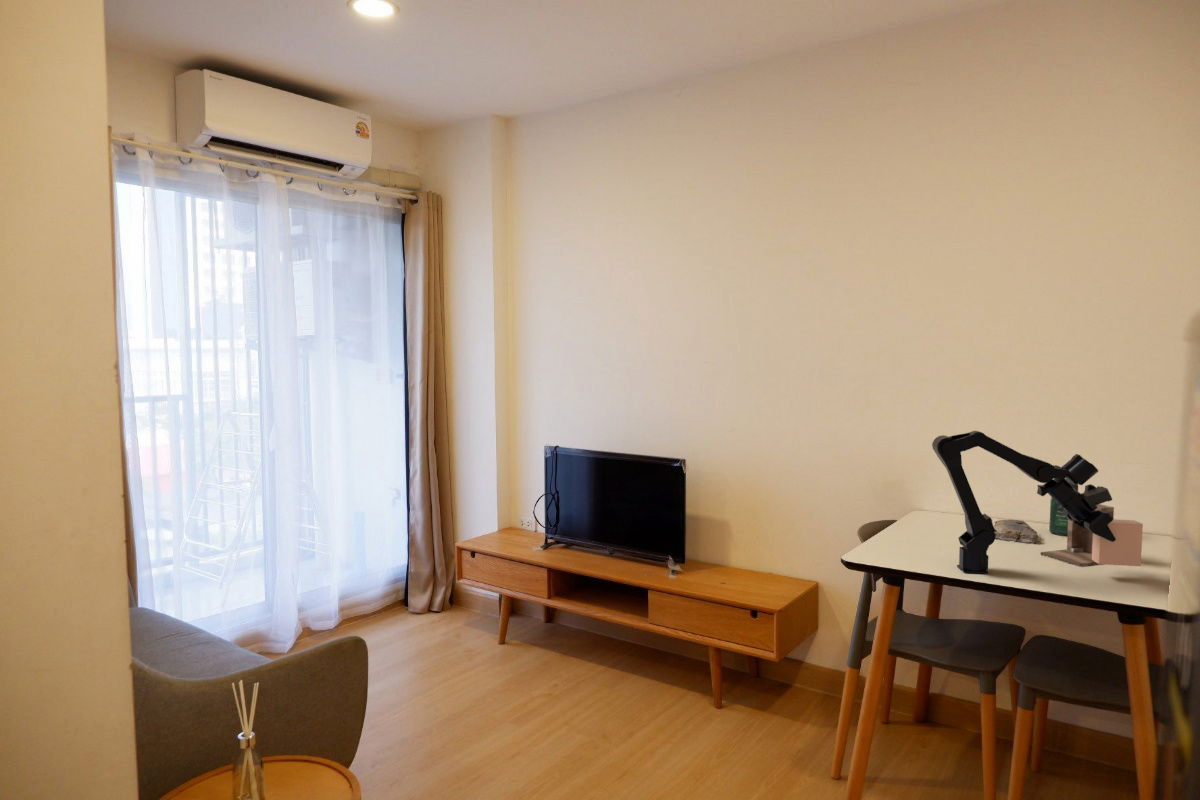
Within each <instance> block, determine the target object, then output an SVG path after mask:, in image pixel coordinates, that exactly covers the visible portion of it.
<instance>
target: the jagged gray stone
mask: <svg viewBox="0 0 1200 800" xmlns="http://www.w3.org/2000/svg"><path fill="white" fill-rule="evenodd" d="M993 527H994V528H995V530H996V531H997V532H995V536H996V539H998V540H1001V541H1003V540H1004V541H1003V542H1010V541H1014V542H1013V543H1017V541H1018V543H1023V542H1024V543H1025V544H1030V543H1034V544H1035V543H1037V542H1038V541H1039V535H1038V532H1037V531H1036V530H1035V529H1034V528H1032V527H1031V526H1030V525H1029V524H1028V523H1027V522H1025V521H1024V520H1020V519H1019V520H1018V519H1001V520H1000V519H999V520H996V521H994V524H993Z"/></svg>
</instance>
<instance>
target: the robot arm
mask: <svg viewBox="0 0 1200 800" xmlns="http://www.w3.org/2000/svg"><path fill="white" fill-rule="evenodd" d="M931 446H932V449H933V451H934V453H935V454H936V456H937V458H938V459H939V461H940V462H941V463H942V465H943V466H944V468H945V469H946V471H947V473H948V477H949V479H950V481H951V483H952V484H951V485H952V486H953V488H954V491H955V493H956V496H957V497H958V498H957V499H958V502H959V503H960V506H961V508H962V511H963V513H964V524H965V529H966V531H964V532H963V533H962V534H961V535H960V536H958V537H957V538H958V541H959V544H960V545H961V546H959V551H958V552H959V555H958V556H959V559H958V564H957V565H956V567H957V569H959V570H961V571H962V572H963V573H965V574H989V572H990V571H988V570H989V555H988V553H987V551H988V550H989V547H990V546H991V545H992V544H993V543H994V542H995V541H996V539H997V538H996V536H995V532H997V531H996V530H995V528H994V527H993V525H994V523H993V519H992V518H991V517H990V516H989V515H987V514H986V513H982V512H981V510H980V508H979V504H978V502H977V500H976V497H975V495H974V492H973V490H972V487H971V484H970V482H969V481H968V478H967V475H966V473H965V470H964V468H963V464H962V452H966V451H969V450H971V449H974V448H978V447H979V448H981V449H983V450H985V451H986V452H988V453H991V454H992V455H993V456H997V457H998V458H1000V459H1002V460H1003V461H1006V462H1008V463H1009V464H1012V465H1014V467H1016V468H1017V469H1018V470H1019V471H1021V472H1022V473H1023V474H1025V475H1026V476H1027V477H1029V478H1030V479H1033V481H1037V482H1038V483H1041V484H1037V490H1036V494H1037V495H1039V496H1041V497H1045V496H1046V495H1047V494H1048V495H1049V496H1050V498H1051V497H1052V498H1053V499H1054V500H1055V501H1056V502H1057V503H1058V505H1059V506H1060V507H1061V508H1063V509H1064V510H1063V515H1064V516H1065V517H1066V518H1067V519H1068V520H1070V521H1072V520H1073V519H1075V521H1074V523H1075V524H1077V525H1079V526H1081V527H1083V528H1085V529H1087V530H1088V531H1090V532H1092V533H1094V534H1096V535H1098V536H1100V537H1103V538H1105V539H1107V540H1109V541H1111V542H1114V541H1115V540H1116V538H1115V537H1114V535H1113V533H1112V532H1111V530H1110V528H1109V527H1108V524H1109V523H1110V522H1111V521H1113V519H1114V518H1115V517H1114V518H1113V517H1112V516H1111V515H1110V514H1109V513H1107V512H1105V511H1103V510H1097V511H1095V509H1097V508H1098V507H1097V506H1096V505H1098V504H1101V505H1102V504H1104V503H1106V502H1111V501H1113V498H1112V497H1113V496H1112V495H1111V493H1110V491H1109V489H1108V488H1106V487H1104V486H1099V485H1098V486H1095V485H1094V484H1092V483H1091V484H1087V485H1084V484H1085V483H1087V481H1089V480H1090V479H1091V478H1093V477H1094V476H1095V475H1096V474H1097V473H1099V469H1098V468H1097V467H1096V466H1095V465H1094V464H1093V463H1091V462H1090V461H1088V460H1087V459H1085V458H1084V457H1083V456H1082V455H1080V454H1078V453H1075V454H1074V455H1073V456H1072V457H1071V459H1069V460H1068V461H1067V462H1066V463H1065V464H1063V465H1062V466H1059V465H1056V464H1055V465H1054V464H1052V463H1050V462H1047V461H1044V460H1042V459H1038V458H1035V457H1033V456H1029V455H1026V454H1023V453H1020V452H1019V451H1017V450H1015V449H1013V448H1011V447H1009V446H1008V445H1005V444H1003V443H1001V442H999V441H998V440H995V439H993V438H992V437H990V436H988V435H986V434H985V433H984V432H981V431H979V430H972V431H970V432H965V433H959V434H953V435H950V436H948V435H938V436H936V437H935V439H934V440H933V441H932V443H931ZM1065 479H1067V480H1068V481H1069V482H1071V483H1072V484H1073V485H1076V484H1078V486H1083V485H1084V491H1083V492H1082V493H1080V492H1079V490H1078V491H1076V490H1075V489H1074V488H1073V487H1072V486H1071V485H1070V484H1069V483H1068V482H1067V481H1066V480H1065ZM1072 518H1073V519H1072Z"/></svg>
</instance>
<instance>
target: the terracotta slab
mask: <svg viewBox="0 0 1200 800" xmlns="http://www.w3.org/2000/svg"><path fill="white" fill-rule="evenodd" d="M1108 527H1109V528H1110V530H1111V532H1112V533H1113V535H1114V537H1115V538H1116V540H1115V541H1114V542H1111V541H1109V540H1107V539H1105V538H1103V537H1100V536H1098V535H1096V534H1094V533H1093V543H1092V560H1093V561H1095V562H1096V563H1098V564H1097V565H1109V566H1127V567H1142V546H1143V530H1144V529H1143V527H1144V525H1143V523H1142V522H1140V521H1137V520H1135V519H1116V518H1115V519H1113V521H1111V522H1110V523H1109V524H1108Z"/></svg>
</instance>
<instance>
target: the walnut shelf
mask: <svg viewBox="0 0 1200 800" xmlns="http://www.w3.org/2000/svg"><path fill="white" fill-rule="evenodd" d="M1096 506H1097V507H1098V508H1097V509H1095V511H1097V510H1103V511H1105V512H1107V513H1109V514H1110V515H1111V516H1112V517H1113V518H1115V517H1114V515H1115V511H1114V510H1115V508H1114V506H1112V505H1111V506H1110V505H1105V504H1102V503H1101V504H1098V505H1096ZM1072 519H1073V518H1072ZM1074 521H1075V519H1073V520H1072V521H1070V520H1068V534H1067V535H1066V537H1067V539H1066V549H1058V550H1049V551H1040V554H1041V555H1040V556H1043V555H1044V556H1043V557H1046V556H1048V557H1047V558H1049V557H1050V559H1053V558H1054V559H1053V560H1056V559H1057V560H1056V561H1060V562H1063V563H1067V564H1071V565H1074V566H1076V567H1086V566H1096V565H1099V564H1098V563H1096V562H1095V561H1093V560H1092V543H1093V533H1092V532H1090V531H1088V530H1087V529H1085V528H1083V527H1081V526H1079V525H1077V524H1075V523H1074ZM1095 564H1096V565H1095Z"/></svg>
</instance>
